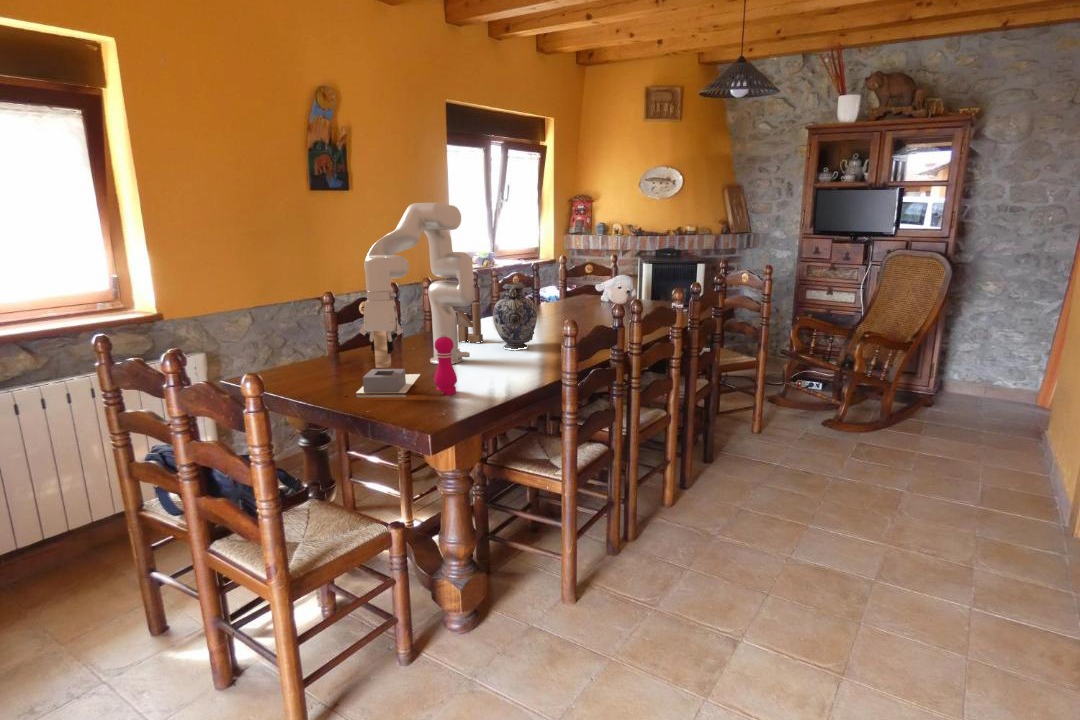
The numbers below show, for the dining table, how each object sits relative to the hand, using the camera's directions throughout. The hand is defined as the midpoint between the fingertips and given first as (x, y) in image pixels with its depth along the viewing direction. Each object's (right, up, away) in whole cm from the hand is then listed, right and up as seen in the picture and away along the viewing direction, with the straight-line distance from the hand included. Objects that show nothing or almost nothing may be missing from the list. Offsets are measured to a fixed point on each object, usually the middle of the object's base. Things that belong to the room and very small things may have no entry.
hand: (382, 352), depth 207 cm
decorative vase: (+40, +3, +70) cm, 81 cm away
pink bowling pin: (+20, -13, +2) cm, 24 cm away
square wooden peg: (0, -4, +1) cm, 4 cm away
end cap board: (0, -12, +9) cm, 15 cm away
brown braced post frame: (+19, +5, +83) cm, 86 cm away
